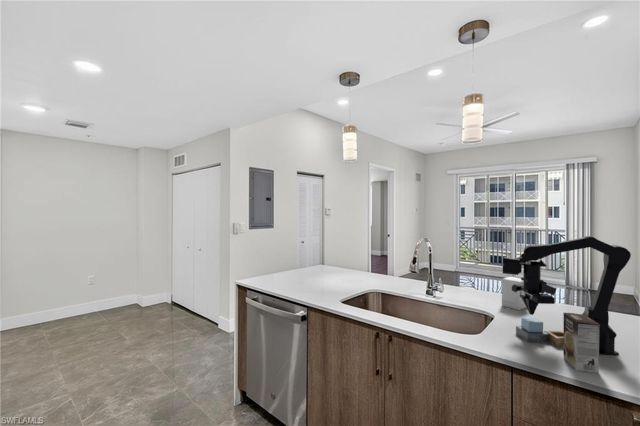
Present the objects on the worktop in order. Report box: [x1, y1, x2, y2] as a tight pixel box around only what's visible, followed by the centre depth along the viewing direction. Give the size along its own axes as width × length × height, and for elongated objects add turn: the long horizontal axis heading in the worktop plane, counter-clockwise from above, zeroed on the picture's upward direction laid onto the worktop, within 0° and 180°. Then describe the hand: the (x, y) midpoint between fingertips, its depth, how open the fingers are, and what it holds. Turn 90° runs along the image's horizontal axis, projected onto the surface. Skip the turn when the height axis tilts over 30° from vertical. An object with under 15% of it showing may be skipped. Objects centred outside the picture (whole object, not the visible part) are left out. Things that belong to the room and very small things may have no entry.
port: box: [515, 325, 550, 343], centre depth 123 cm, size 8×8×3 cm
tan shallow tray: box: [543, 330, 564, 348], centre depth 119 cm, size 7×7×3 cm
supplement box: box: [501, 276, 527, 311], centre depth 162 cm, size 9×9×15 cm
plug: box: [520, 316, 544, 332], centre depth 123 cm, size 5×6×8 cm
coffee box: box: [562, 312, 600, 374], centre depth 102 cm, size 9×6×16 cm
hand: (531, 314), depth 123 cm, fingers closed
